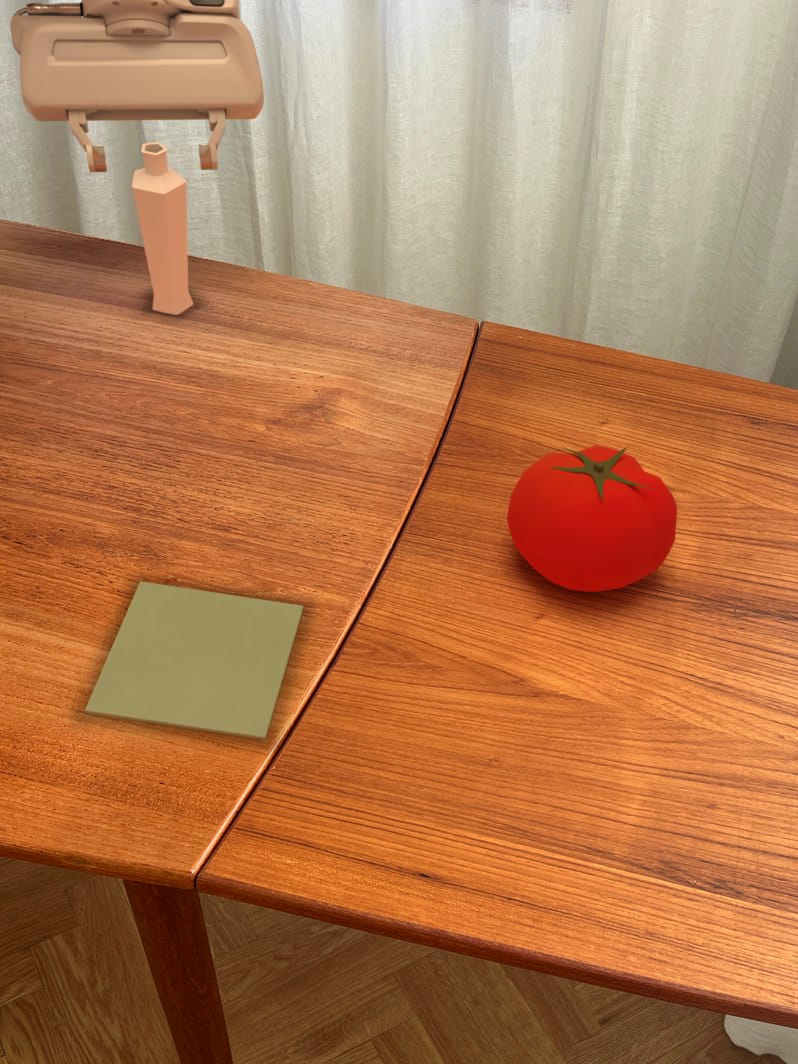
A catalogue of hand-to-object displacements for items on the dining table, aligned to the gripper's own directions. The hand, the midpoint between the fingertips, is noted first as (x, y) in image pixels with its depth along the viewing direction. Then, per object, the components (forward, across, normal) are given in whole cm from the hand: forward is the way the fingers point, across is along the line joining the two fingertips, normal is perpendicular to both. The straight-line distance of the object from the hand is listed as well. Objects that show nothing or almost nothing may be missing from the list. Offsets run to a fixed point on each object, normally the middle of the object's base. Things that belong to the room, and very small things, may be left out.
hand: (154, 169), depth 100 cm
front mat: (+41, -1, -25) cm, 48 cm away
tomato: (+38, +29, -21) cm, 52 cm away
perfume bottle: (+11, 0, +6) cm, 12 cm away
